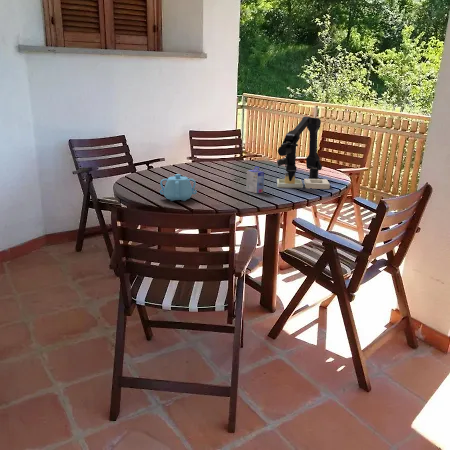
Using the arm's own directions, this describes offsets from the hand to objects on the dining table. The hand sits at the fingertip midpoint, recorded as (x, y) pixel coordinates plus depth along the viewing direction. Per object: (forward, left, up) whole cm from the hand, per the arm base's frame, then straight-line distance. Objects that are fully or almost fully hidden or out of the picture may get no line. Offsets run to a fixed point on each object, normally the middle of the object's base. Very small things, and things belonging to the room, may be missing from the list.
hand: (289, 179), depth 277 cm
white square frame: (0, +16, -4) cm, 17 cm away
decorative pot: (+41, -62, -4) cm, 74 cm away
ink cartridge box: (+19, -21, -4) cm, 29 cm away
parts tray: (0, 0, -4) cm, 4 cm away
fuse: (0, 0, -3) cm, 3 cm away
